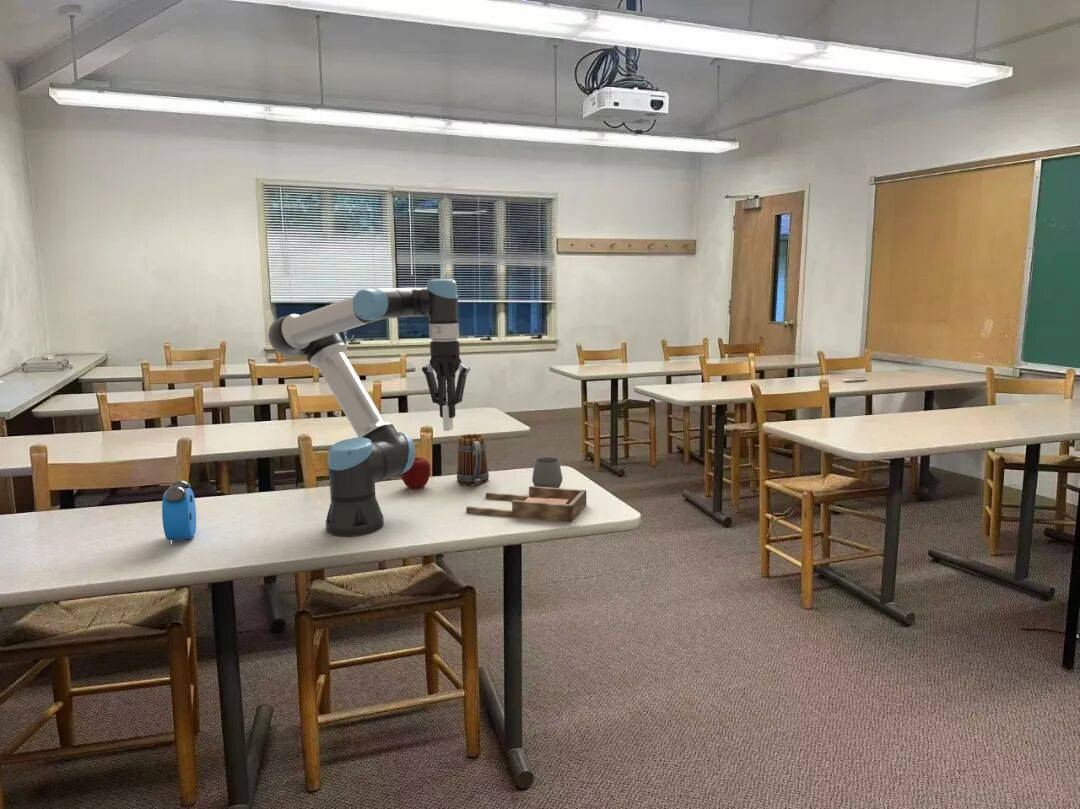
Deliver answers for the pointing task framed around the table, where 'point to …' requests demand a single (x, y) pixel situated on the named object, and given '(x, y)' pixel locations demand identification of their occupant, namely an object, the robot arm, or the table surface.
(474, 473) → the mug
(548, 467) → the cup
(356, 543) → the table surface
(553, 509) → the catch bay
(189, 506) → the alarm clock
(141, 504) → the table surface
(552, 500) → the tile
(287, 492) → the table surface
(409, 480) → the apple
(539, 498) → the tile
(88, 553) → the table surface
